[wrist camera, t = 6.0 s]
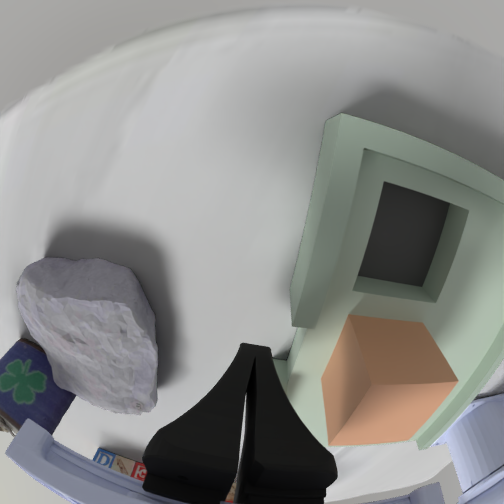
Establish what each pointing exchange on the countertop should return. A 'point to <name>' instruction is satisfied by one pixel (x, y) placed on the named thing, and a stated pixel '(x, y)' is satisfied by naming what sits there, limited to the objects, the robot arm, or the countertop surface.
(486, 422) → the robot arm
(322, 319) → the board
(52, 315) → the stone block
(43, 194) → the countertop surface
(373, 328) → the block
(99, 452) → the stack of blocks
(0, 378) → the flask
